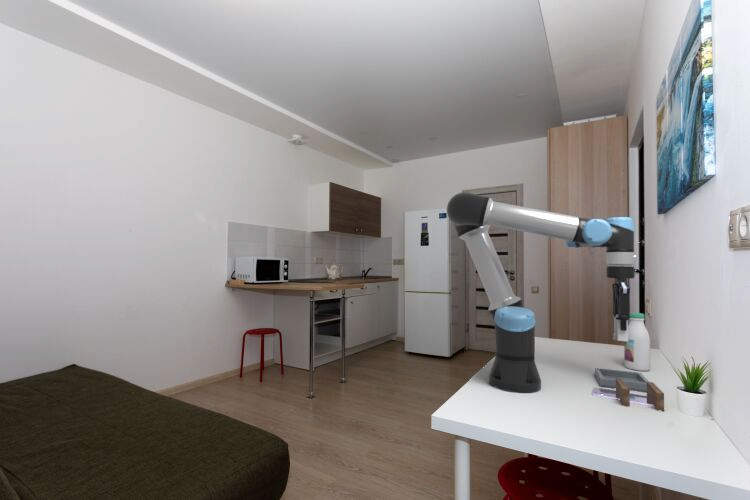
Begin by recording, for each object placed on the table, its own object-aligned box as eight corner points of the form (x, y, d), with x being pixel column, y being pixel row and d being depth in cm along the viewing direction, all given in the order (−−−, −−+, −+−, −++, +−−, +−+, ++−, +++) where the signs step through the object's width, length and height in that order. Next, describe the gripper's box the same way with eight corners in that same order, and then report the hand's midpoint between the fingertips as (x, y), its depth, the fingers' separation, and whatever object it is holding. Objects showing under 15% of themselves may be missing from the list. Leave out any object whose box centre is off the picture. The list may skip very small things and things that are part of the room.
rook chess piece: (632, 341, 117) (631, 316, 117) (616, 341, 118) (615, 315, 118) (625, 339, 121) (625, 314, 122) (610, 338, 122) (609, 313, 123)
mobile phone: (655, 404, 100) (590, 392, 108) (655, 408, 100) (590, 396, 108) (654, 396, 106) (593, 386, 115) (654, 400, 106) (593, 389, 115)
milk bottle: (649, 367, 138) (648, 313, 139) (651, 372, 131) (650, 315, 132) (624, 364, 142) (623, 311, 143) (624, 369, 136) (624, 313, 136)
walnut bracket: (623, 405, 100) (622, 388, 101) (615, 393, 110) (615, 378, 110) (664, 411, 97) (664, 393, 97) (653, 398, 106) (652, 382, 106)
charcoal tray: (600, 386, 116) (600, 378, 116) (594, 375, 128) (594, 367, 128) (651, 392, 111) (651, 384, 111) (640, 380, 123) (640, 372, 123)
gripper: (641, 266, 111) (642, 345, 110) (628, 265, 127) (629, 335, 126) (611, 265, 114) (612, 343, 113) (602, 265, 130) (603, 333, 129)
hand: (621, 339), depth 120 cm, fingers closed on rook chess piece, 4 cm apart
